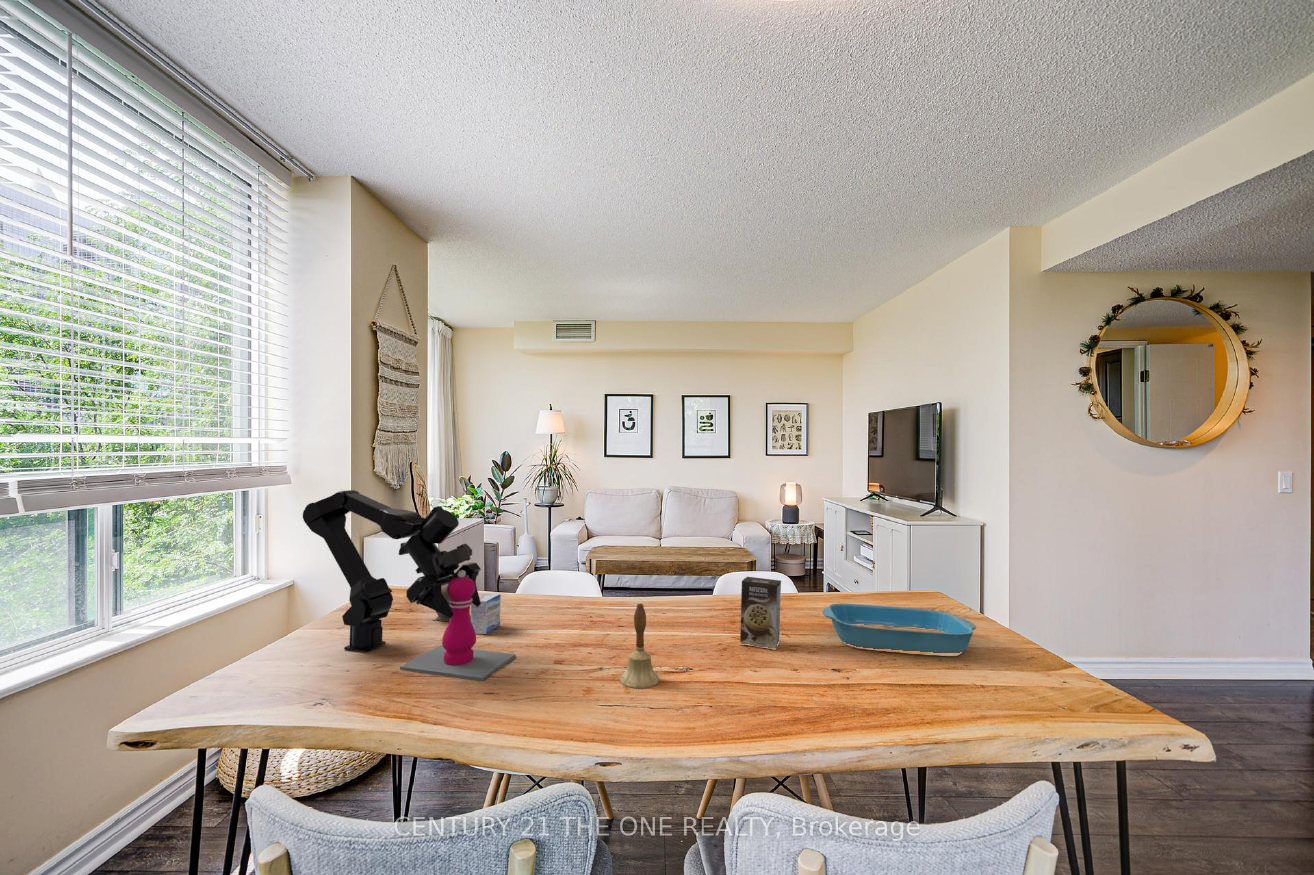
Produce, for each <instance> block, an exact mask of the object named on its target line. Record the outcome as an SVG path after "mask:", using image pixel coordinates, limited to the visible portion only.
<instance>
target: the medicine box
mask: <svg viewBox="0 0 1314 875" xmlns="http://www.w3.org/2000/svg"><path fill="white" fill-rule="evenodd" d="M501 595H502V594H500V593H485V594H483V595H481V596H479V598H480V602H481V605H480V606H478V607H477V606H475V605H474V604H473V603H472V605H471V606H470V620H471V623H472V625H473V627H474V630H475V633H476V635H483V634H486V635H488V634H489V633H491V632H492V631H494V630H495V629H497V628H498V627H500V626H501ZM496 627H497V628H496ZM493 629H494V630H493ZM490 631H491V632H490ZM487 633H488V634H487Z"/></svg>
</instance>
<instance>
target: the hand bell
mask: <svg viewBox="0 0 1314 875" xmlns="http://www.w3.org/2000/svg"><path fill="white" fill-rule="evenodd" d="M633 625H634V630H635V634H636V635H635V636H636V640H635V641H636V642H635V646H636V647H635V650H634V651H632V652H630V654H629V657H628V663H627V667H626V669H625V670H624V672H623V673H622V674H621V675H620V677H619V682H620V684H621V685H622V686H625V687H628V688H631V689H648V688H652V687H654V686H656V685H658V684H659V683H660V678H659V675H658V674H657V673H656V672H655V670H654V669H653V664H652V659H651V658H652V657H651V654H650V653H649V652H647V651H646V650H645V644H644V643H645V638H644V637H645V636H644V635H645V634H644V633H645V630H646V625H647V614H646V610H645V606H644V604H643V603H637V604H636V608H635V611H634V616H633Z"/></svg>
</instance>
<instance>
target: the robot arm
mask: <svg viewBox="0 0 1314 875" xmlns="http://www.w3.org/2000/svg"><path fill="white" fill-rule="evenodd" d="M350 512H351V513H352V514H355V515H358V516H360V517H362V518H364V519H366V520H367V521H370V522H372V523H374V524H376V525H378V526H379V528H380V530H381V531H382V532H383V533H384V534H386V535H387V536H388V537H389V538H390V539H392V540H393V539H394V540H400V539H406V538H408V539H407V541H405V542H401V543H400V546H399V550H398V555H399V556H403V555H407V554H408V555H409V556H410V557H411V559H412V560H413V561H414V564H415V565H416V566H417V568H416V569H415V572H416V573H417V575H418V574H423V575H422V576H419V577H417V579H416V580H415V581H414V582H413V583H412V584H411V585H410V586H409V587H408V589H406V595H405V596H406V598H407V600H408V601H409V602H410V604H413V603H415V604H416V605H422V606H424V607H427V608H428V609H431V610H434V611H435V612H436V611H437V612H439V613H441V614H443V615H445V616H447V617H449V618H451V617H453V615H454V613H453V611H452V609H451V607H450V606H449V604H448V602H447V601H446V599H445V598H444V596H443V594H442V590H441V586H443V585H446V584H449V582H450V581H451V580H452V579H454V578H456V577H458V572H459V571H460V570H464V571H465V572H466V575H465V577H468V578H470V579H472V580H473V581H474V583H475V592H474V594H473V595H472V596H471V598H472V599H473V600H472V603H473V604H474V605H475V606H477V607H478V606H480V605H481V602H480V598H479V597H480V594H479V591H478V588H477V582H476V580H477V577H478V576H479V575H480V574H479V572H480V571H481V567H480V566H479V565H478V563H477V562H469V563H468V561H470V560H471V556H472V555H473V549H472V548H471V547H470V545H468V544H467V543H462V544H460V545H458V546H456V548H454V549H452V550H448V551H446V550H440V549H439V547H438V546H437V544H443V542H444V541H445V540H446V539H448V537H449V536H450V535H451V534H452V533H453V531H455V530H456V529H457V528H458V526H459V519H458V517H457V516H456V515H455V514H453V513H451V512H450V511H448V510H446V509H443V507H442V506H440V505H438V506H434V507H433V508H432V509H431V511H430V512H429V514H428V515H427V516H425V517H422V516H421V514H420V513H419V512H417V511H412V510H407V509H400V508H399V509H398V508H392V507H391V506H388V505H385V504H383V503H381V502H379V501H377V500H375V499H372V498H370V497H368V496H366V495H363V494H362V493H360V492H359V491H358V490H355V489H349V490H348V489H347V490H339V491H337V492H336V493H334V494H331V496H328V497H325V498H322V499H320V500H318V501H316V502H309V503H308V504H307V505H306V506H305V508H304V510H303V512H302V519H303V522H304V523H305V525H306V526H307V527H308V529H309V530H310V531H311V532H312V533H314V534H316V535H317V536H319V537H320V538H322V539H323V540H324V542H325V543H326V545H327V548H328V549H329V550H330V552H331V554H332V556H333V558H334V560H335V561H336V563H337V565H338V567H339V569H340V571H341V573H342V574H343V576H344V578H345V579H346V582H347V584H348V586H349V587H350V588H349V589H350V591H349V600H348V601H349V603H350V607H349V608H348V609H347V610H346V611H345V613H343V615H342V616H341V617H342V621H343V625H344V626H349V644H348V645H346V646H344V648H343V649H344V650H345V651H352V652H353V651H355V652H362V653H368V652H370V651H372V650H375V649H377V648H379V647H381V646H383V645H385V644H386V643H387V642H386V640H383V629H384V628H383V626H382V624H383V623H382V619H384V618H387V617H388V615H389V612H390V611H391V610H390V609H391V608H392V606H393V601H394V597H393V595H392V592H393V589H391V588H390V587H389V585H388V582H387V580H386V579H385V578H384V577H381V578H378V579H377V578H375V577H373V576H372V575H371V572H370V570H369V569H368V567H367V565H366V564H365V561H364V560H363V558H362V557H361V555H360V553H359V550H358V549H357V548H356V546H355V544H354V542H353V541H352V539H351V537H350V535H349V534H348V531H347V530H346V522H347V514H349V513H350ZM466 561H467V563H464V562H466ZM462 563H464V564H462ZM460 564H462V565H461V566H460ZM455 570H456V571H455Z"/></svg>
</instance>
